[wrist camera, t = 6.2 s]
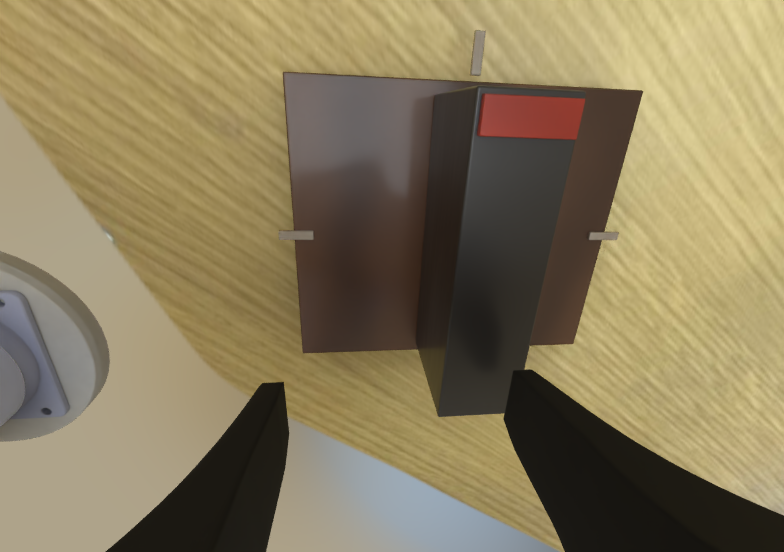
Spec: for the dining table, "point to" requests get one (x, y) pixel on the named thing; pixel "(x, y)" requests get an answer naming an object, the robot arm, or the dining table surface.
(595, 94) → the brown pegged board
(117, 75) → the dining table surface
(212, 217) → the dining table surface
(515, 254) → the gray bar
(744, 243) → the dining table surface
